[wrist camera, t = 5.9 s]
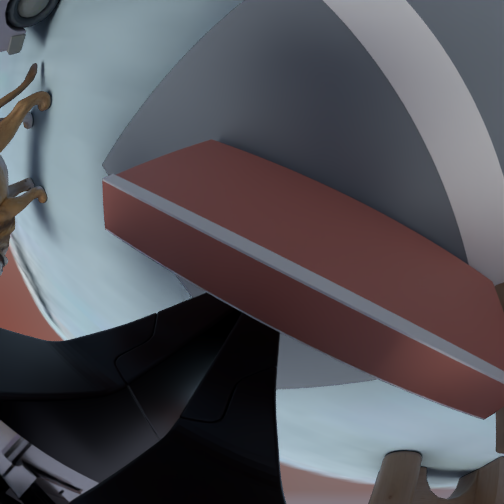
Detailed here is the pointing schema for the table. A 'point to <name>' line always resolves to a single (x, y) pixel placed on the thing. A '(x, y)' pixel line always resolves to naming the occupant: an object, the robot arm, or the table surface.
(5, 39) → the toy vehicle
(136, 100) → the table surface
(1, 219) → the lion figurine
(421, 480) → the wooden toy
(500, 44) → the board
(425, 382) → the gate panel
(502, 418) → the fixed fence
